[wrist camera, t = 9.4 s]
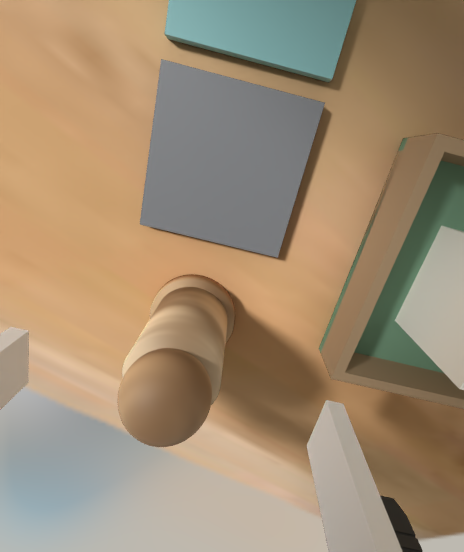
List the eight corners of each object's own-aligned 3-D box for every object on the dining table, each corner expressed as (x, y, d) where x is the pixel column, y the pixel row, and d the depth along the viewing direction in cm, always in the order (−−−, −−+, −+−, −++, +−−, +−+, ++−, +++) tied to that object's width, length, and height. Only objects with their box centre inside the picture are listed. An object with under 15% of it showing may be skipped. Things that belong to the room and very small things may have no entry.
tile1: (143, 222, 18) (139, 224, 17) (164, 62, 15) (161, 59, 14) (276, 254, 18) (277, 257, 17) (321, 105, 15) (324, 102, 15)
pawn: (149, 337, 20) (76, 467, 12) (160, 265, 19) (85, 357, 10) (224, 354, 21) (209, 494, 12) (243, 285, 19) (241, 391, 10)
